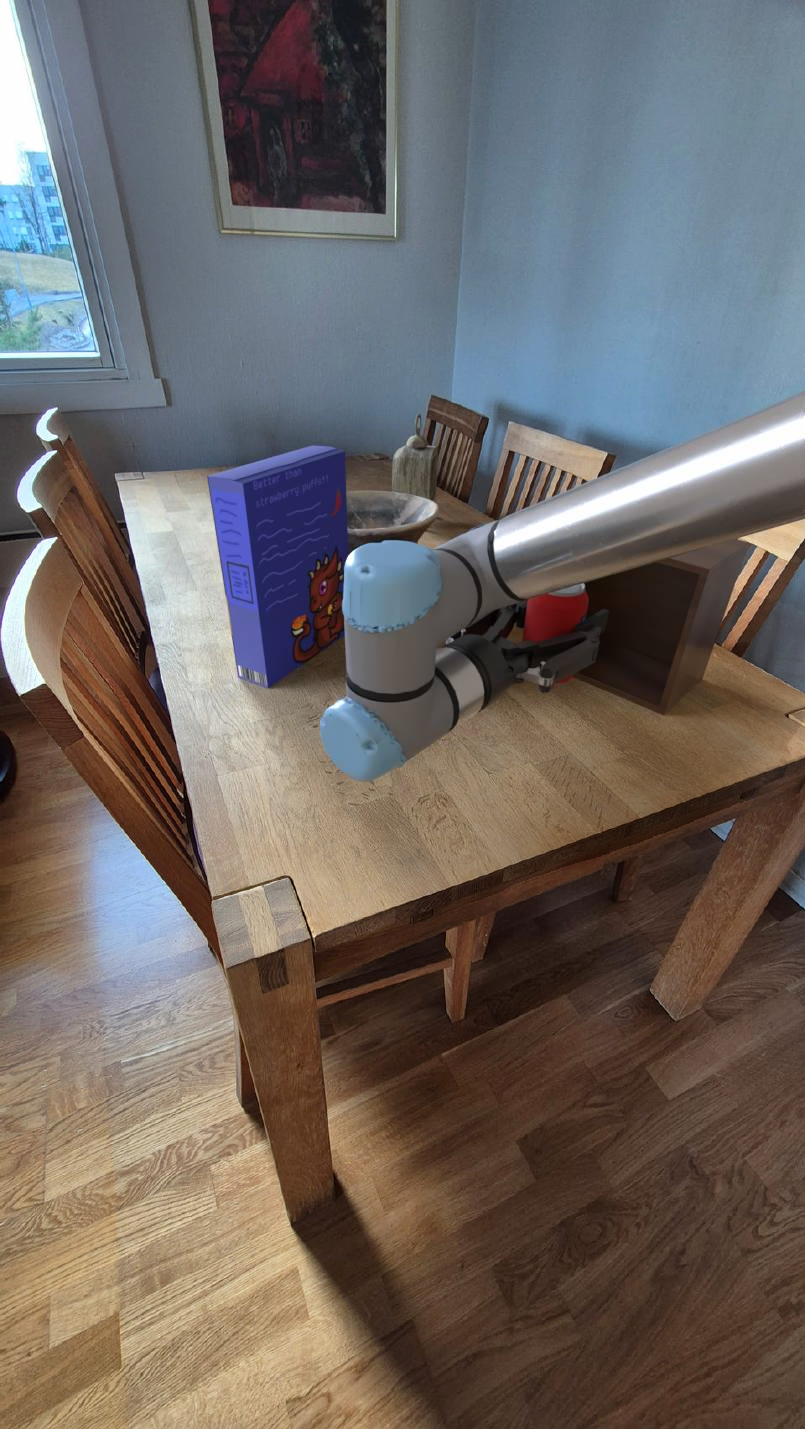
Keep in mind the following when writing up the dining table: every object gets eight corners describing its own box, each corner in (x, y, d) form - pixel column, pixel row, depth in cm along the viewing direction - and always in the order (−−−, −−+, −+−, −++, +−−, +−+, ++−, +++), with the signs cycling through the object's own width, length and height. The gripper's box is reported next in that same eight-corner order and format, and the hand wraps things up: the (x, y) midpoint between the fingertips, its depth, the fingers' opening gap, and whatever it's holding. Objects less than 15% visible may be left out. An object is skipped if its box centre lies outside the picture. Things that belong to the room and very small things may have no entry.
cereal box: (323, 623, 111) (312, 443, 94) (350, 631, 109) (344, 449, 92) (238, 677, 96) (206, 474, 79) (268, 688, 94) (242, 481, 76)
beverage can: (584, 680, 76) (604, 588, 69) (541, 695, 73) (558, 600, 66) (548, 656, 81) (563, 568, 74) (506, 669, 78) (518, 578, 71)
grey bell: (427, 532, 153) (431, 421, 138) (390, 529, 154) (391, 419, 140) (435, 514, 164) (440, 410, 150) (401, 512, 166) (403, 408, 151)
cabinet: (663, 715, 90) (709, 569, 77) (524, 656, 103) (543, 523, 90) (702, 679, 98) (749, 542, 85) (568, 629, 111) (592, 504, 99)
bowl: (328, 550, 141) (325, 482, 132) (445, 561, 137) (449, 491, 128) (287, 599, 119) (280, 521, 111) (424, 613, 115) (427, 533, 107)
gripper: (386, 677, 70) (505, 613, 84) (536, 754, 59) (645, 666, 73) (386, 615, 65) (512, 559, 79) (548, 686, 54) (661, 606, 68)
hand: (575, 610), depth 76 cm, fingers closed on beverage can, 7 cm apart
